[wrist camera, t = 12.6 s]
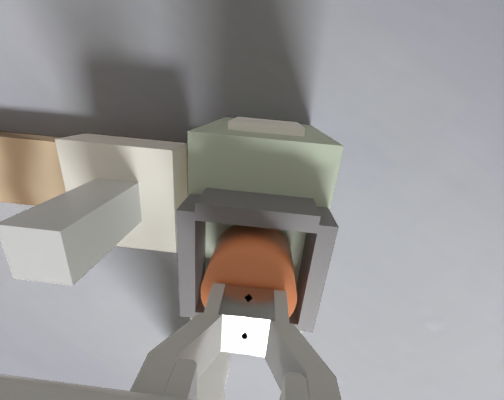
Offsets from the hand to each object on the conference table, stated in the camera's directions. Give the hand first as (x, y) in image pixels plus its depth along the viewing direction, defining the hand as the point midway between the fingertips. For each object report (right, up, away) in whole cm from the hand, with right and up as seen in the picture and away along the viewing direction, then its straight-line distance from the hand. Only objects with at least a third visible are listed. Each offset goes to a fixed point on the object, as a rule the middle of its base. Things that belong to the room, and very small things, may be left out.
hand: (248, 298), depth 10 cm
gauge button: (0, +1, +3) cm, 3 cm away
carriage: (-9, +5, +11) cm, 15 cm away
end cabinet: (+1, +5, +12) cm, 13 cm away
